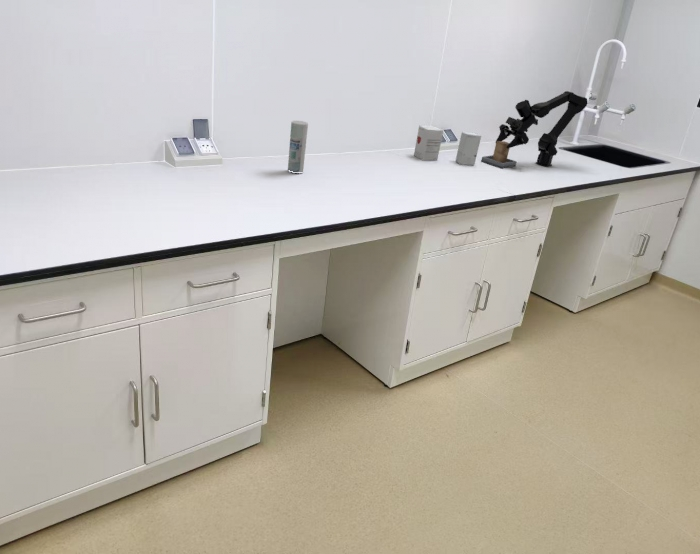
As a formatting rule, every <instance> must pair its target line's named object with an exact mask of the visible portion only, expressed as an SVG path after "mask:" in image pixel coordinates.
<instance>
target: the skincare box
mask: <svg viewBox="0 0 700 554" xmlns="http://www.w3.org/2000/svg"><path fill="white" fill-rule="evenodd" d="M460 134H461V135H460V138H459V144H458V148H457V153H456V157H455V163H457V164H458V165H463V166H468V165H469V166H475V164H476V159H477V156H478V152H479V147H480V144H481V139H482V134H481V135H480V134H478V133H474V132H469V131H461V133H460Z"/></svg>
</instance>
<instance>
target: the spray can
mask: <svg viewBox="0 0 700 554" xmlns="http://www.w3.org/2000/svg"><path fill="white" fill-rule="evenodd" d="M308 127H309V123H308V122H306V121H303V120H292V121H291V125H290V136H289V137H290V139H289V151H288V162H287V171H288V170H290V171H293V172H303V173H304V167H305V155H306V148H307V137H308Z"/></svg>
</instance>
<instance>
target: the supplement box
mask: <svg viewBox="0 0 700 554" xmlns="http://www.w3.org/2000/svg"><path fill="white" fill-rule="evenodd" d="M443 134H444V129H441V128H439V127H437V126H435V125H423V124H422V125H419V126H418V130H417V135H416V139H415V140H416V141H415V146H414V153H413V156H414V157H416V158H418V159H419V160H422V161H438V159H439V154H440V149H441V144H442V139H443Z"/></svg>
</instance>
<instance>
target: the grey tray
mask: <svg viewBox="0 0 700 554" xmlns="http://www.w3.org/2000/svg"><path fill="white" fill-rule="evenodd" d="M492 158H493V155H485V156H482V157H481V160H480V163H485V164H487V165H490V166H493V167H496V168H499V169H508V168H513V167H516V166H517V161H516V160H513V159H510V158H507V160H506V163H501V162H498V161H495V160H492Z"/></svg>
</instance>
